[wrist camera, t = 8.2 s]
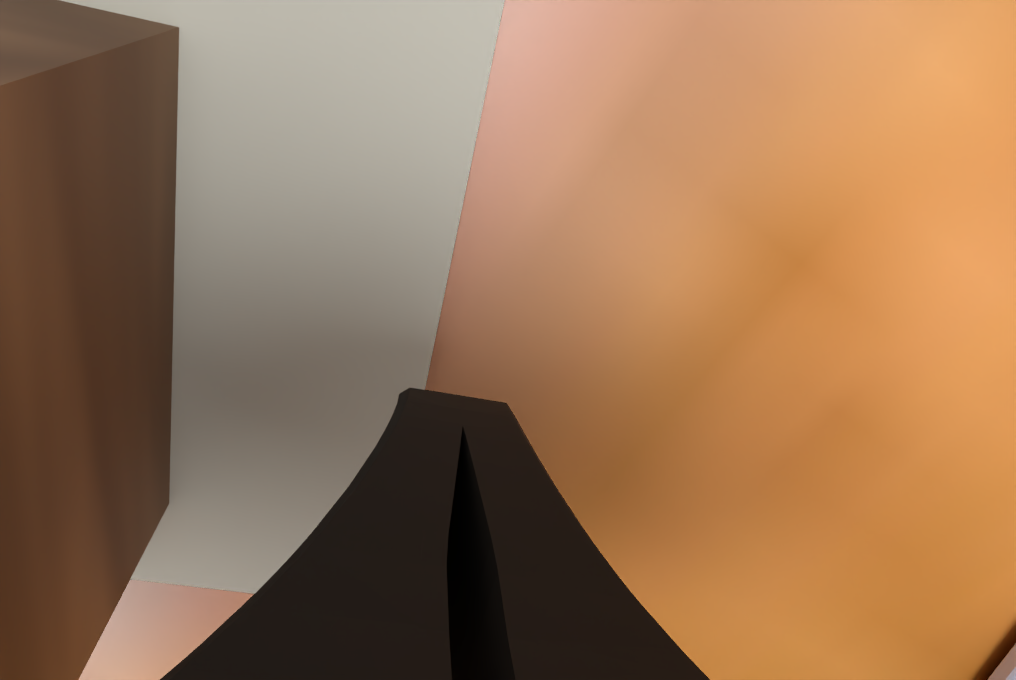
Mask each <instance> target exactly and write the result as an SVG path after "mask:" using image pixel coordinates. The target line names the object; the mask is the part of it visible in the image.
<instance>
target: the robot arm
mask: <svg viewBox="0 0 1016 680" xmlns="http://www.w3.org/2000/svg"><path fill="white" fill-rule="evenodd" d="M160 680H710V679H709V678H708V677H707V676H706V675H705V674H704V673H703V672H702V671H701V670H700V669H699V668H698V667H697V666H696V665H695V664H694V663H693V662H692V661H691V660H690V658H689V657H688V656H687V655H686V654H685V653H684V652H683V651H682V650H681V649H680V648H679V647H678V645H677V644H676V643H675V642H674V641H673V640H672V639H671V638H670V636H669V635H668V634H667V633H666V632H665V631H664V630H663V629H662V627H661V626H660V625H659V624H658V623H657V622H656V621H655V620H654V618H653V617H652V616H651V615H650V614H649V613H648V612H647V610H646V609H645V608H644V607H643V606H642V605H641V604H640V603H639V601H638V600H637V599H636V598H635V596H634V595H633V594H632V593H631V592H630V590H629V589H628V588H627V587H626V585H625V584H624V583H623V582H622V580H621V579H620V578H619V577H618V575H617V574H616V573H615V571H614V570H613V569H612V567H611V566H610V565H609V563H608V562H607V561H606V559H605V558H604V557H603V555H602V554H601V553H600V551H599V550H598V549H597V547H596V546H595V544H594V543H593V542H592V540H591V539H590V537H589V536H588V534H587V533H586V532H585V530H584V529H583V527H582V526H581V524H580V523H579V521H578V520H577V518H576V517H575V515H574V514H573V512H572V511H571V509H570V508H569V506H568V505H567V503H566V502H565V500H564V498H563V497H562V495H561V494H560V492H559V491H558V489H557V488H556V486H555V485H554V483H553V481H552V480H551V478H550V476H549V475H548V473H547V472H546V470H545V468H544V466H543V465H542V463H541V461H540V460H539V458H538V456H537V455H536V453H535V451H534V449H533V448H532V446H531V444H530V443H529V441H528V439H527V437H526V435H525V434H524V432H523V430H522V428H521V427H520V425H519V423H518V421H517V419H516V418H515V416H514V414H513V412H512V411H511V409H510V408H509V406H508V405H507V403H503V402H497V401H490V400H484V399H478V398H472V397H466V396H460V395H453V394H447V393H441V392H435V391H429V390H422V389H416V388H408V389H406V390H405V391H403V392H401V393H400V394H399V397H398V402H397V405H396V407H395V410H394V412H393V415H392V417H391V419H390V421H389V423H388V425H387V427H386V429H385V431H384V432H383V434H382V436H381V438H380V439H379V441H378V443H377V445H376V446H375V448H374V449H373V451H372V452H371V454H370V455H369V457H368V458H367V460H366V461H365V463H364V464H363V466H362V467H361V469H360V470H359V472H358V473H357V475H356V476H355V478H354V479H353V481H352V482H351V483H350V485H349V486H348V488H347V489H346V490H345V492H344V493H343V494H342V495H341V497H340V498H339V499H338V500H337V502H336V503H335V504H334V505H333V507H332V508H331V509H330V510H329V512H328V513H327V514H326V515H325V517H324V518H323V519H322V520H321V522H320V523H319V524H318V525H317V527H316V528H315V529H314V530H313V532H312V533H311V534H310V535H309V536H308V537H307V539H306V540H305V541H304V542H303V543H302V544H301V545H300V546H299V548H298V549H297V550H296V551H295V552H294V553H293V554H292V555H291V557H290V558H289V559H288V560H287V561H286V562H285V563H284V564H283V565H282V566H281V567H280V568H279V569H278V570H277V571H276V573H275V574H274V575H273V576H272V577H271V578H270V579H269V580H268V581H267V582H266V583H265V584H264V585H263V586H262V587H261V588H260V589H259V590H258V591H257V592H256V593H255V594H254V595H253V596H252V597H251V598H250V599H249V600H248V601H247V602H246V603H245V604H244V605H243V606H242V607H240V608H239V609H238V610H237V611H236V612H235V613H234V614H233V615H232V616H231V617H230V618H229V619H228V620H227V621H225V622H224V623H223V624H222V625H221V626H220V627H219V628H218V629H217V630H216V631H215V632H214V633H213V634H212V635H210V636H209V637H208V638H207V639H206V640H205V641H204V642H203V643H202V644H201V645H200V646H198V647H197V648H196V649H195V650H194V651H193V652H192V653H190V654H189V655H188V656H187V657H186V658H185V659H184V660H182V661H181V662H180V663H179V664H178V665H177V666H176V667H174V668H173V669H172V670H171V671H170V672H168V673H167V674H166V675H165V676H164V677H163V678H161V679H160ZM987 680H1016V643H1015V645H1014V646H1013V647H1012V648H1011V650H1010V651H1009V652H1008V654H1007V655H1006V656H1005V657H1004V659H1003V660H1002V661H1001V663H1000V664H999V665H998V667H997V668H996V669H995V670H994V672H993V673H992V674H991V676H990V677H989V678H988V679H987Z"/></svg>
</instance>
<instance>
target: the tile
mask: <svg viewBox="0 0 1016 680" xmlns="http://www.w3.org/2000/svg"><path fill="white" fill-rule="evenodd" d="M178 62H179V27H176V26H172V25H167V24H163V23H158V22H154V21H149V20H145V19H140V18H136V17H132V16H127V15H123V14H118V13H114V12H109V11H105V10H100V9H96V8H91V7H87V6H82V5H78V4H74V3H69V2H65V1H60V0H0V680H78V679H79V677H80V675H81V673H82V671H83V669H84V668H85V666H86V664H87V662H88V660H89V658H90V656H91V654H92V652H93V650H94V648H95V646H96V644H97V642H98V640H99V638H100V637H101V635H102V633H103V631H104V629H105V627H106V625H107V623H108V621H109V619H110V617H111V615H112V613H113V611H114V609H115V607H116V606H117V604H118V602H119V600H120V598H121V596H122V594H123V592H124V590H125V588H126V586H127V584H128V582H129V580H130V578H131V576H132V575H133V573H134V571H135V569H136V567H137V565H138V563H139V561H140V559H141V557H142V555H143V553H144V551H145V549H146V547H147V546H148V544H149V542H150V540H151V538H152V536H153V534H154V532H155V530H156V528H157V526H158V524H159V522H160V520H161V518H162V516H163V515H164V513H165V511H166V509H167V507H168V505H169V493H170V445H171V397H172V350H173V302H174V254H175V206H176V158H177V110H178Z"/></svg>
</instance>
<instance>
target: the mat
mask: <svg viewBox="0 0 1016 680" xmlns="http://www.w3.org/2000/svg"><path fill="white" fill-rule="evenodd" d="M60 1H65V2H69V3H74V4H78V5H82V6H87V7H91V8H96V9H100V10H105V11H109V12H114V13H118V14H123V15H127V16H132V17H136V18H140V19H145V20H149V21H154V22H158V23H163V24H167V25H172V26H176V27H179V62H178V110H177V158H176V206H175V254H174V302H173V350H172V397H171V445H170V493H169V505H168V507H167V509H166V511H165V513H164V515H163V516H162V518H161V520H160V522H159V524H158V526H157V528H156V530H155V532H154V534H153V536H152V538H151V540H150V542H149V544H148V546H147V547H146V549H145V551H144V553H143V555H142V557H141V559H140V561H139V563H138V565H137V567H136V569H135V571H134V573H133V575H132V576H131V578H130V579H131V580H140V581H148V582H157V583H166V584H174V585H183V586H191V587H200V588H209V589H217V590H226V591H234V592H243V593H252V594H255V593H256V592H257V591H258V590H259V589H260V588H261V587H262V586H263V585H264V584H265V583H266V582H267V581H268V580H269V579H270V578H271V577H272V576H273V575H274V574H275V573H276V571H277V570H278V569H279V568H280V567H281V566H282V565H283V564H284V563H285V562H286V561H287V560H288V559H289V558H290V557H291V555H292V554H293V553H294V552H295V551H296V550H297V549H298V548H299V546H300V545H301V544H302V543H303V542H304V541H305V540H306V539H307V537H308V536H309V535H310V534H311V533H312V532H313V530H314V529H315V528H316V527H317V525H318V524H319V523H320V522H321V520H322V519H323V518H324V517H325V515H326V514H327V513H328V512H329V510H330V509H331V508H332V507H333V505H334V504H335V503H336V502H337V500H338V499H339V498H340V497H341V495H342V494H343V493H344V492H345V490H346V489H347V488H348V486H349V485H350V483H351V482H352V481H353V479H354V478H355V476H356V475H357V473H358V472H359V470H360V469H361V467H362V466H363V464H364V463H365V461H366V460H367V458H368V457H369V455H370V454H371V452H372V451H373V449H374V448H375V446H376V445H377V443H378V441H379V439H380V438H381V436H382V434H383V432H384V431H385V429H386V427H387V425H388V423H389V421H390V419H391V417H392V415H393V412H394V410H395V407H396V405H397V402H398V397H399V394H400V393H401V392H403V391H405V390H406V389H408V388H416V389H422V390H425V387H426V382H427V377H428V372H429V367H430V362H431V358H432V353H433V348H434V343H435V338H436V333H437V328H438V323H439V318H440V314H441V309H442V304H443V299H444V294H445V289H446V284H447V279H448V275H449V270H450V265H451V260H452V255H453V250H454V245H455V240H456V235H457V231H458V226H459V221H460V216H461V211H462V206H463V201H464V196H465V192H466V187H467V182H468V177H469V172H470V167H471V162H472V157H473V153H474V148H475V143H476V138H477V133H478V128H479V123H480V118H481V113H482V109H483V104H484V99H485V94H486V89H487V84H488V79H489V74H490V70H491V65H492V60H493V55H494V50H495V45H496V40H497V35H498V30H499V26H500V21H501V16H502V11H503V6H504V1H505V0H60Z"/></svg>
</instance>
